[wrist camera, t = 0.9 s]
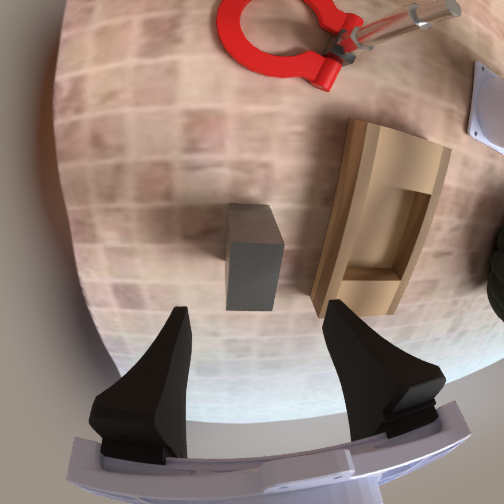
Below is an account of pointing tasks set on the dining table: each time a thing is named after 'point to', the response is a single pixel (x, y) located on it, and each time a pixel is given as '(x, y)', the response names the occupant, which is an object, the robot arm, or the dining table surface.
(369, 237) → the open wooden tray
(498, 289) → the squash
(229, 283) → the grey rectangular prism
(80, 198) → the dining table surface
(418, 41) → the dining table surface
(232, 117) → the dining table surface
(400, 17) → the tow hook
